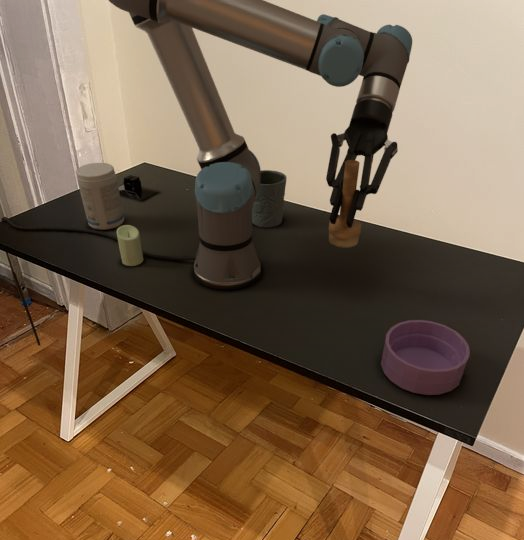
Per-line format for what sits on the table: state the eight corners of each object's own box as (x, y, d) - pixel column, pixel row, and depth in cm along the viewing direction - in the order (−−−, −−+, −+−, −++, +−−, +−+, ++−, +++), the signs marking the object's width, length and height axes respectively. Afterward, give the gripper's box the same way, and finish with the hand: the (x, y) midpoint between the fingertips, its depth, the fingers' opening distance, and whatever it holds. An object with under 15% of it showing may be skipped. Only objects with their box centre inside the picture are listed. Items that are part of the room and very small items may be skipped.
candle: (147, 262, 123) (142, 230, 118) (127, 268, 121) (121, 236, 116) (138, 253, 127) (132, 222, 121) (118, 259, 124) (112, 228, 119)
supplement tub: (124, 214, 144) (115, 160, 134) (125, 229, 137) (115, 174, 127) (88, 217, 142) (76, 163, 133) (87, 233, 135) (74, 177, 126)
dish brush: (322, 242, 106) (329, 163, 95) (336, 230, 110) (344, 153, 99) (350, 251, 103) (360, 171, 93) (364, 238, 107) (375, 160, 97)
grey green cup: (252, 230, 136) (252, 185, 129) (244, 214, 144) (243, 171, 136) (289, 226, 138) (291, 182, 131) (279, 210, 146) (280, 168, 138)
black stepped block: (110, 192, 155) (107, 177, 152) (126, 184, 160) (124, 169, 157) (142, 201, 150) (139, 185, 147) (158, 192, 155) (156, 177, 152)
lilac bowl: (368, 377, 93) (372, 351, 89) (397, 336, 102) (402, 311, 98) (446, 408, 87) (455, 382, 83) (470, 362, 96) (479, 336, 92)
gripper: (414, 124, 102) (381, 237, 101) (338, 114, 107) (305, 222, 106) (414, 102, 95) (379, 223, 94) (332, 92, 100) (298, 208, 99)
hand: (340, 222), depth 100 cm, fingers closed on dish brush, 3 cm apart
